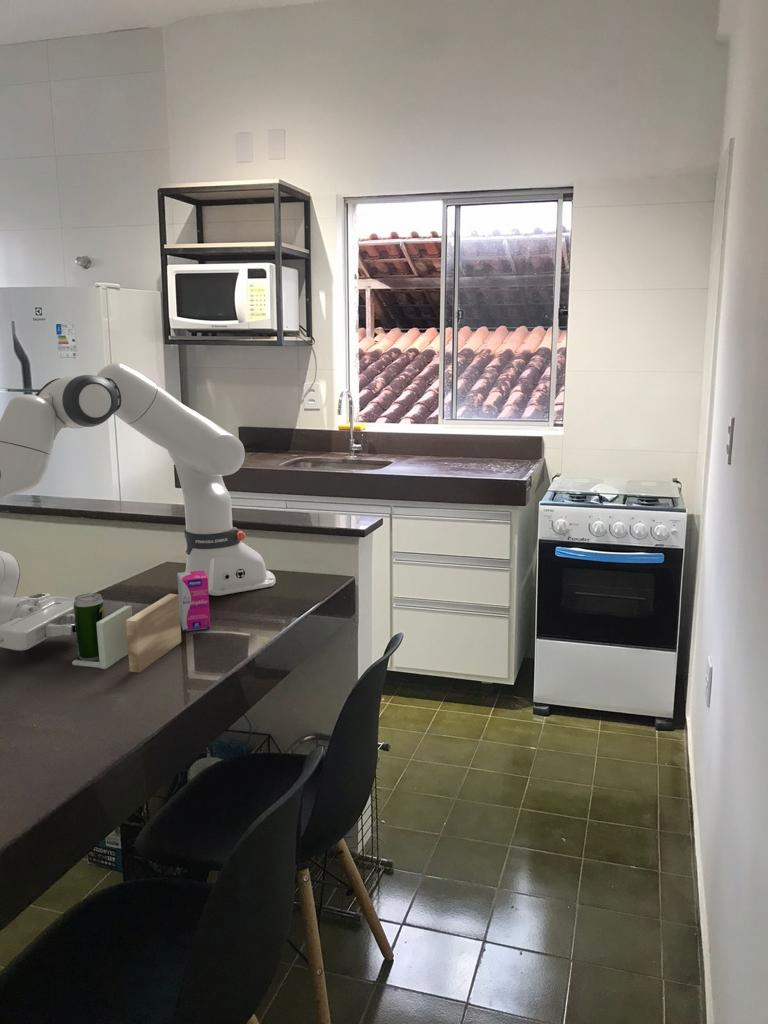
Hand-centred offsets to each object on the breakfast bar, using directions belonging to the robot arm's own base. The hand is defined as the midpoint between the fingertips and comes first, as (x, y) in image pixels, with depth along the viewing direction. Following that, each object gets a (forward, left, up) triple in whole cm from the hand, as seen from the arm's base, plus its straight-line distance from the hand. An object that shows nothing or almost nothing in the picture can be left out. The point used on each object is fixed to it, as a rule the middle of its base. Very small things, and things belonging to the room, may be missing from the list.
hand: (79, 626), depth 163 cm
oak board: (-14, +6, -6) cm, 16 cm away
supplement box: (-23, -8, -6) cm, 25 cm away
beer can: (-2, +1, -6) cm, 7 cm away
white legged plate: (-4, +3, -6) cm, 7 cm away
